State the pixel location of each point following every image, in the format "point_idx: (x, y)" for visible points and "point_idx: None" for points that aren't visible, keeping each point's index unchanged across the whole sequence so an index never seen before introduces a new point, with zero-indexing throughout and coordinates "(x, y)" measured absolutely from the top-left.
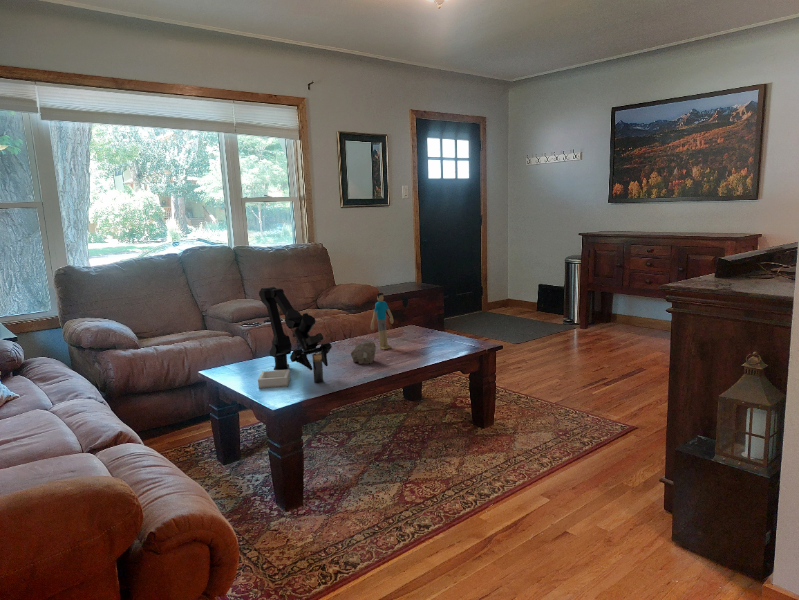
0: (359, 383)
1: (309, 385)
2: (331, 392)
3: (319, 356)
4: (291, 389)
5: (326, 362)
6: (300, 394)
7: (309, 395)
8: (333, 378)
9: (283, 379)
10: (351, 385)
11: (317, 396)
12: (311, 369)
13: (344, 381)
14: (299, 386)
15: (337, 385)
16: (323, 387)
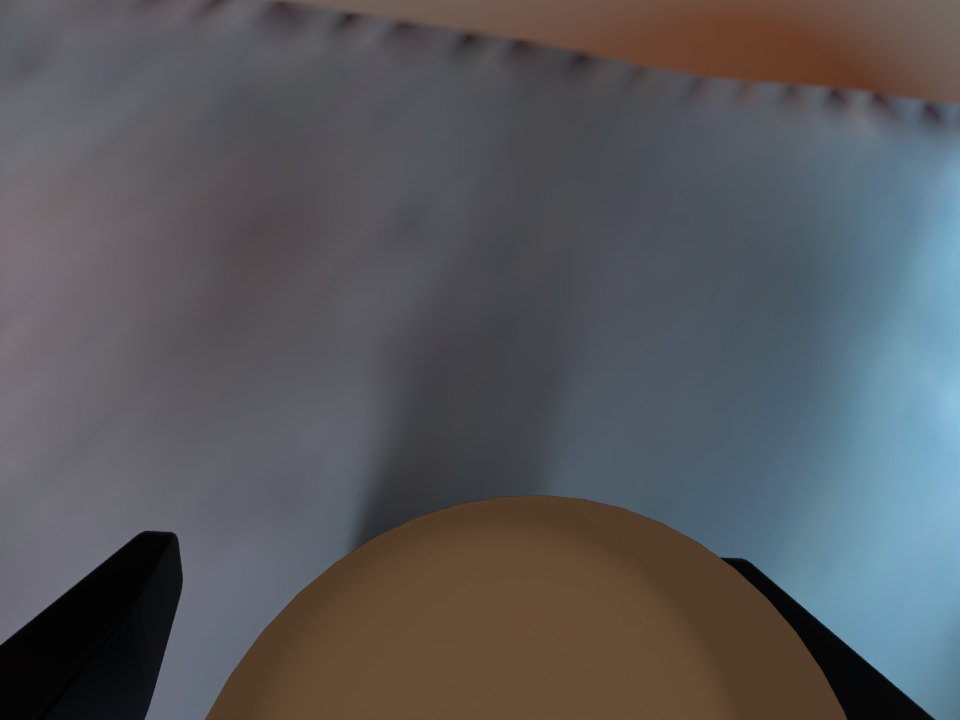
0: (60, 11)
1: None
2: (595, 62)
3: (547, 503)
4: (956, 639)
5: (115, 591)
6: (936, 327)
7: (862, 201)
8: None
9: None
10: (209, 43)
11: (803, 95)
12: None
13: (119, 264)
14: None
15: (343, 206)
16: (548, 305)
